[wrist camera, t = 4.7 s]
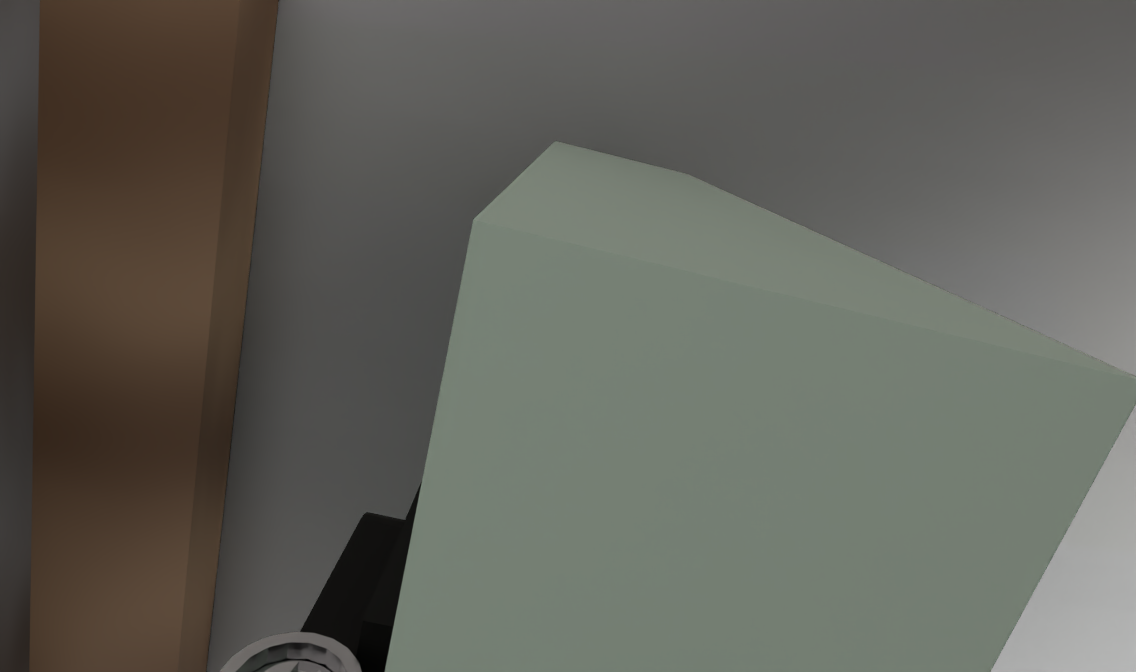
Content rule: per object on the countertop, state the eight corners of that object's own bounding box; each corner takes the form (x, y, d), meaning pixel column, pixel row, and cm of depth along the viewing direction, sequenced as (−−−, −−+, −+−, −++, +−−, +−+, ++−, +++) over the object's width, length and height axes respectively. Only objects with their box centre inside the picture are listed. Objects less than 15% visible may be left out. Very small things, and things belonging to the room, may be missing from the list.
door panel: (555, 140, 12) (472, 219, 2) (686, 173, 12) (1150, 381, 2) (435, 672, 15) (205, 1582, 6) (538, 692, 15) (479, 1610, 6)
